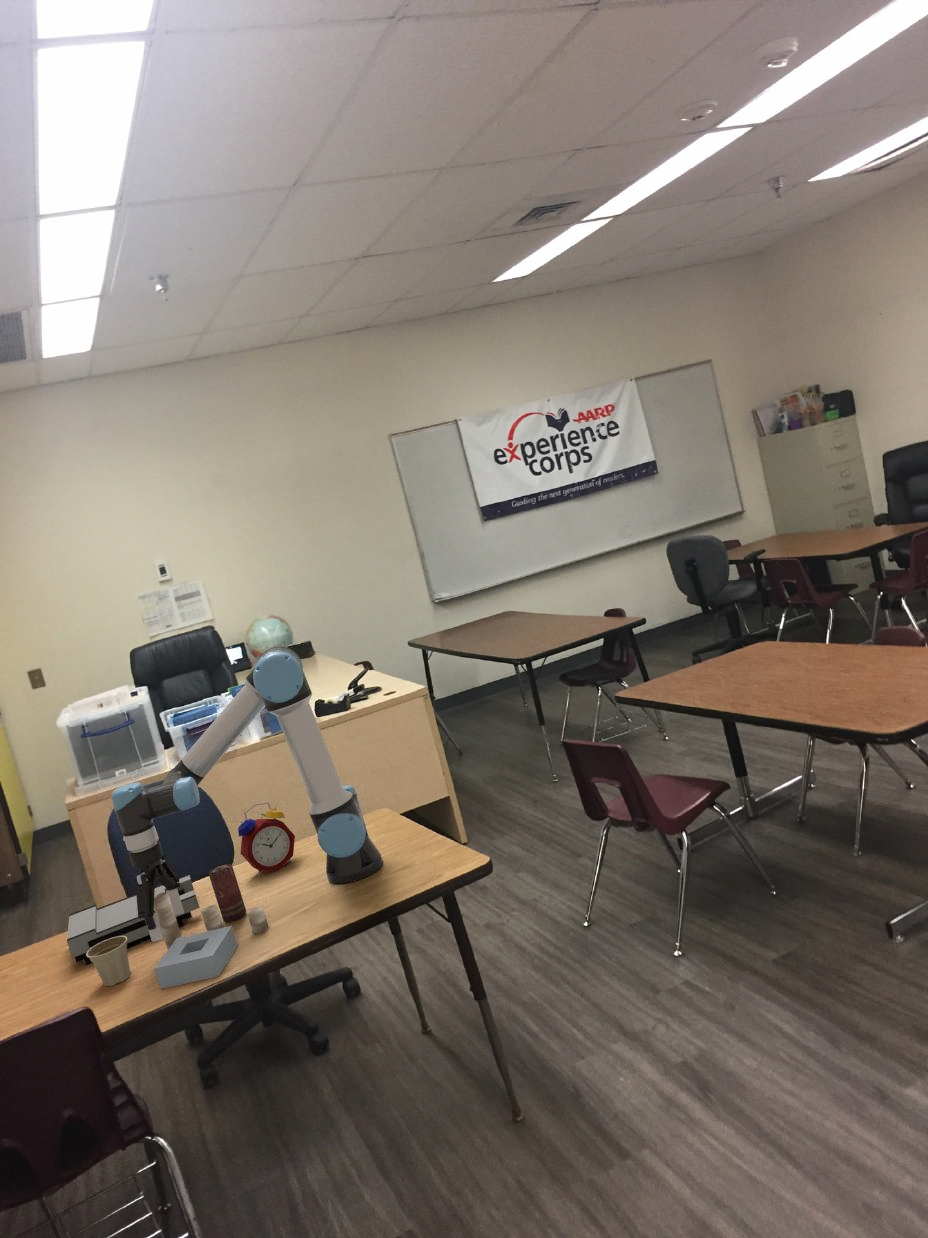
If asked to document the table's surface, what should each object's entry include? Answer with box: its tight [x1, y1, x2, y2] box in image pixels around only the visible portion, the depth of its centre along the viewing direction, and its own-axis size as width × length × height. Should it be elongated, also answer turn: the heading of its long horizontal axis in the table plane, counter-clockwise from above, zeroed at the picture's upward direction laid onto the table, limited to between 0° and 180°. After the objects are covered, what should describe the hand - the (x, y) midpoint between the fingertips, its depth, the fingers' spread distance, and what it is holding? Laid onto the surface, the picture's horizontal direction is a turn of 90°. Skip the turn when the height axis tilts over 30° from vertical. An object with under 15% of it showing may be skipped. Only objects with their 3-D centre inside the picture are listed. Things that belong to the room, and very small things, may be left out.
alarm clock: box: [237, 801, 296, 877], centre depth 265 cm, size 15×9×20 cm, turn 123°
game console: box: [66, 873, 200, 966], centre depth 245 cm, size 21×32×8 cm, turn 112°
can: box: [208, 862, 247, 924], centre depth 236 cm, size 6×6×14 cm
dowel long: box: [154, 892, 183, 950], centre depth 227 cm, size 4×4×14 cm
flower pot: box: [86, 936, 132, 987], centre depth 218 cm, size 9×9×9 cm
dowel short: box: [246, 906, 270, 935], centre depth 225 cm, size 4×4×5 cm
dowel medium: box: [200, 904, 225, 932], centre depth 226 cm, size 4×4×8 cm
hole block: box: [154, 925, 239, 990], centre depth 213 cm, size 14×14×5 cm
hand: (168, 927), depth 227 cm, fingers open, 13 cm apart
